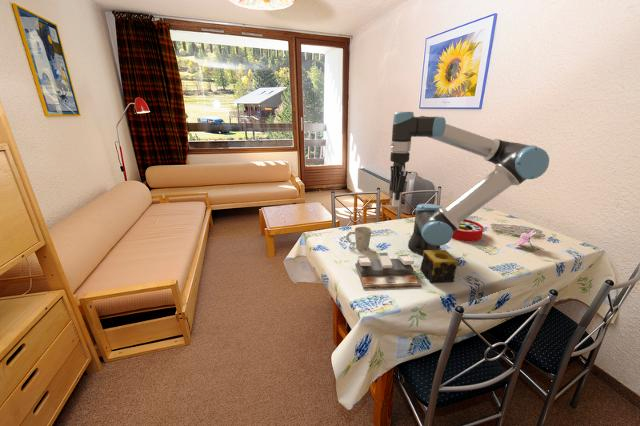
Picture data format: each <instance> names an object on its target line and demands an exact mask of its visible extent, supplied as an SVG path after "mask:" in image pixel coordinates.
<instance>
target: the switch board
mask: <svg viewBox="0 0 640 426" xmlns="http://www.w3.org/2000/svg"><path fill="white" fill-rule="evenodd" d="M369 260H370V261H371V266H361V265H360V263H359V261H358V259H357V262H355V263H354V264H355V268H356V271H357V273H358V277H359V280H360V283H361V286H362V289H363V290H372V289H377V290H378V289H397V288H398V289H400V288H403V289H405V288H419V287H420V288H422V284H421V282H420V281H419V279H418V278H417V275H415V273H414V270H415V269H414V268H413V266H412V265H404V264H403V263H401V261H400V260H399V259H398V258H390V260H391V263H392V268H382V266H381V263H380V260H379V258H377V259H369Z"/></svg>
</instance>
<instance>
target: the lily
mask: <svg viewBox="0 0 640 426" xmlns="http://www.w3.org/2000/svg"><path fill="white" fill-rule="evenodd" d="M534 231H535V229H533V230H531V231H530V232H528V233H526V232H522V233H521V234H520V236H519V239H518V241H516V242H515V246H514V248H515V249H516V248H517V247H518V246H520V245H521V244H524V245H525V244H526V245H527V244H528V243H529V245H530V246H531V248H532V249H534V246H533V244H532V243H531V237H532V236H533V235H534V236H535V235H536V233H537V232H536V231H535V232H534Z"/></svg>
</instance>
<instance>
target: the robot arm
mask: <svg viewBox="0 0 640 426" xmlns="http://www.w3.org/2000/svg"><path fill="white" fill-rule="evenodd" d="M391 130H392V131H391V132H392V133H391V134H392V135H391V143H390V146H391V148H390V150H391V152H390V158H389V160H390V162H393V164H392V165H391V166H390V188H391V190H392V201H391V207H393V208H398V207H400V199H401V193H403V192H404V190H405V184H406V179H407V176H408V173H409V172H408V171H407V170H406V163H408V162H409V161H410V151H411V145H412V138H417V137H421V138H422V137H423V138H424V137H425V138H430V139H432V140H435V141H438V142H441V143H443V144H446V145H449V146H452V147H455V148H457V149H461V150H463V151H465V152H469V153H472V154H474V155H477V156H480V157H483V159H484V161H487V162H490V163H492V164H494V165H495V167H494V170H493V171H491V172H490V173H489V174H487V175H486V176H485V177H483V178H482V179H481V180H479V181H478V182H477V183H476V184H475V185H473V186H471V188H470V189H468V190H467V191H465V192H464V193H463V194H462V195H460V196H459V197H458V198H456V199H455V200H453V202H451V203H450V204H449V205H447V206H446V207H442V205H438V204H434V203H433V204H432V203H418V205H416V208H415V213H414V214H415V215H414V225H413V232H412V235H411V236H410V238H409V240H408V244H407V248H408V249H409V250H410V251H411V252H414V253H416V254H419V255H423V251H424V250H441V246H445V245H447V244H448V243H449V242H450V241H451V240H453V239H452V235H453V233H454V232H455V231H456V230H458V229H459V224H460V223H461V222H462V221H463V220H465V219H468V218H469V217H470V216H471V215H473V214H475V213H476V212H477V211H478V210H480V209H481V208H482V207H484V206H485V205H486V204H488V203H489V202H491V201H492V200H494V199H495V198H497V197H498V196H499V195H501V193H503V192H505V191H506V190H507V189H509V188H510V187H511V186H520V185H521V184H522V183H523V182H526V180H535V179H538V178H539V177H541V176H542V175H544V174H545V173H546V171H547V170H548V168H549V164H550V156H549V154H548V152H547V151H546V150H545V149H543V148H541V147H538V146H537V145H529V144H525V143H520V142H512V141H507V140H506V141H505V140H502V139H498V138H494V139H491V138H487V137H485V136H484V135H483V136H482V135H480V134H477V133H473V132H470V131H468V130H465V129H462V128H460V127H457V126H454V125H451V124H449V123H447V122H446V118H445V117H444V116H425V115H420V116H415V114H414V111H396V112H395V113H394V114H393V122H392V129H391Z"/></svg>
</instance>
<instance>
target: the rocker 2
mask: <svg viewBox="0 0 640 426" xmlns="http://www.w3.org/2000/svg"><path fill="white" fill-rule="evenodd" d="M397 259H399V260H400V261H401V263H403V264H404V265H411V266H412V265H413V266H414V265H415V260H413V258H412V257H410V256H409V255H408V254H398V255H397Z"/></svg>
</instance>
